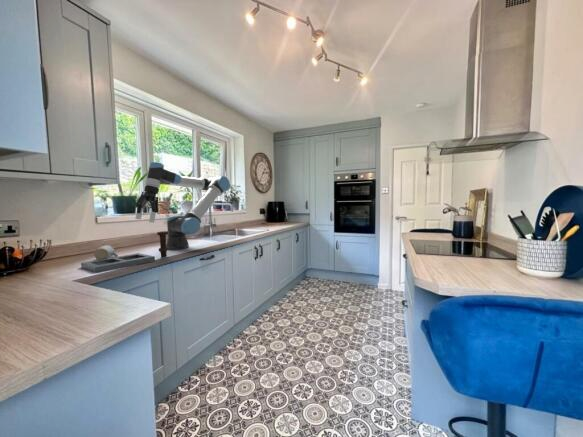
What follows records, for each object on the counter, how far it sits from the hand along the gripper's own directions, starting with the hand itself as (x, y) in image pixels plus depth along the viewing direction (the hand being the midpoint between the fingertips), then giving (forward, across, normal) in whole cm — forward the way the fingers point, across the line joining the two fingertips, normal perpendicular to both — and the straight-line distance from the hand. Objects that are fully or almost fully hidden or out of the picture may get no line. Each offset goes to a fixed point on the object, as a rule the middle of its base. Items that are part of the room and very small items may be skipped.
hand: (145, 220), depth 145 cm
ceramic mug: (+25, -2, -19) cm, 31 cm away
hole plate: (+25, +12, -1) cm, 28 cm away
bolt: (+20, -4, +13) cm, 24 cm away
